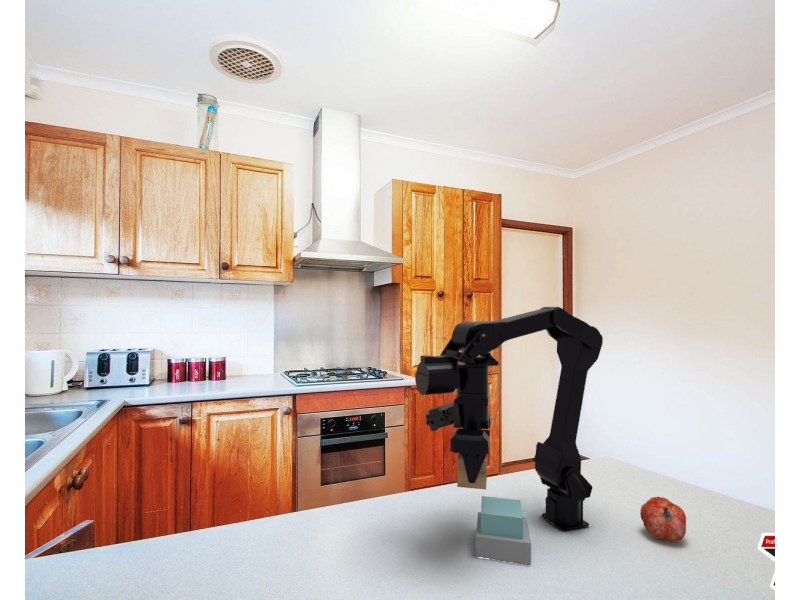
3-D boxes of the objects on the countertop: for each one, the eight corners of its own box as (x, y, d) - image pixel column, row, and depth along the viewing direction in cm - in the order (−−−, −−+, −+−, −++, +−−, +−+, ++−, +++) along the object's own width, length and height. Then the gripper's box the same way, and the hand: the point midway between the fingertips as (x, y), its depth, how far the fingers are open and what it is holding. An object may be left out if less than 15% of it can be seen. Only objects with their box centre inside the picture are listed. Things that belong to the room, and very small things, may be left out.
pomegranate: (637, 537, 83) (636, 523, 77) (643, 500, 87) (643, 484, 80) (682, 554, 79) (686, 541, 72) (686, 514, 82) (690, 498, 76)
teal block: (481, 514, 79) (481, 496, 80) (520, 519, 78) (520, 500, 78) (480, 533, 73) (481, 513, 73) (523, 539, 71) (523, 518, 71)
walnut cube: (459, 475, 80) (459, 449, 80) (486, 478, 79) (486, 451, 79) (457, 486, 75) (457, 458, 75) (485, 489, 74) (485, 460, 74)
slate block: (477, 533, 81) (477, 511, 81) (526, 539, 79) (527, 517, 79) (475, 560, 72) (475, 536, 72) (530, 568, 70) (531, 543, 70)
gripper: (435, 380, 88) (436, 455, 88) (419, 399, 70) (419, 494, 70) (490, 382, 86) (490, 460, 85) (488, 403, 67) (488, 501, 67)
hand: (472, 476), depth 77 cm, fingers closed on walnut cube, 5 cm apart
